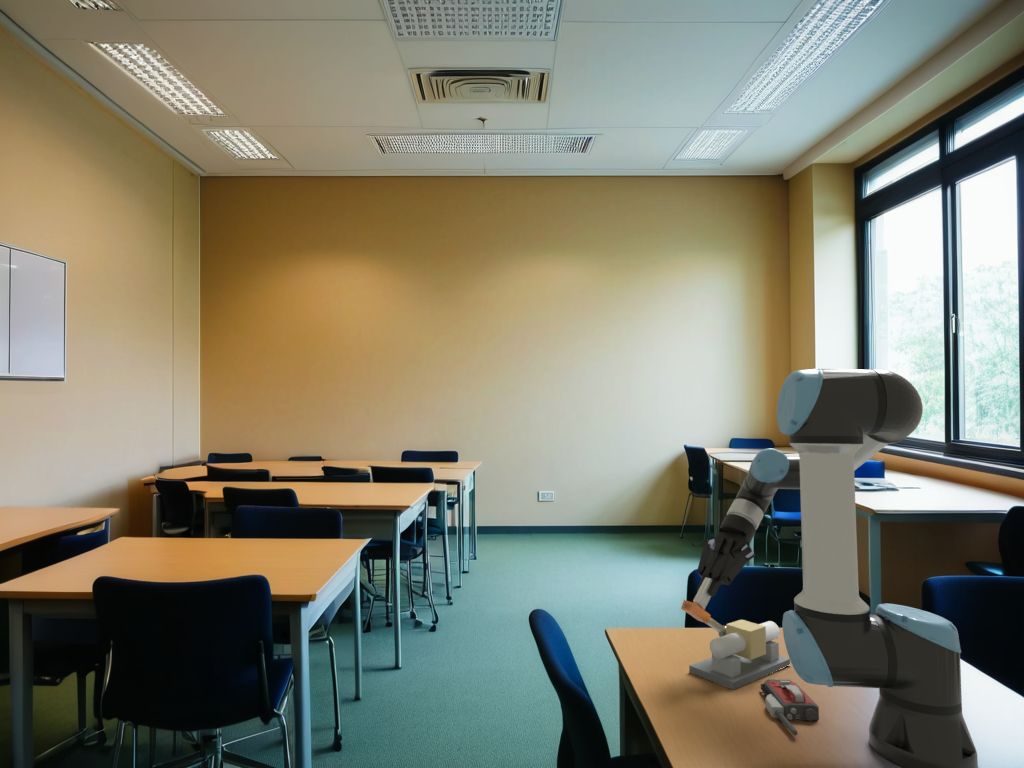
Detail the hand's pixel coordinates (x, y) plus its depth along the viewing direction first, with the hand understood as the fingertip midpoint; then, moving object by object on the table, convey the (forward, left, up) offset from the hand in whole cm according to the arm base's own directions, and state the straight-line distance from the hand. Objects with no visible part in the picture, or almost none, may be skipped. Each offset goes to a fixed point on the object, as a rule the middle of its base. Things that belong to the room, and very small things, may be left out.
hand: (698, 605), depth 136 cm
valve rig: (+5, -9, -15) cm, 18 cm away
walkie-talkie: (-15, -16, -15) cm, 27 cm away
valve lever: (+8, -7, -8) cm, 13 cm away
